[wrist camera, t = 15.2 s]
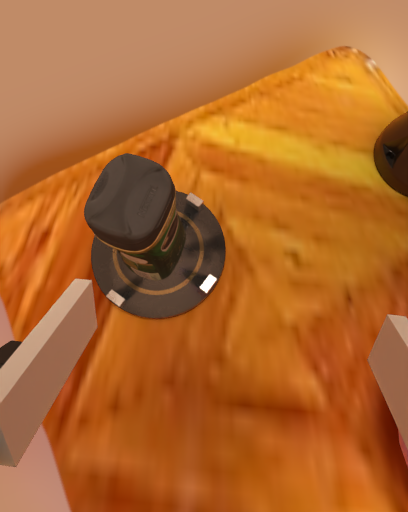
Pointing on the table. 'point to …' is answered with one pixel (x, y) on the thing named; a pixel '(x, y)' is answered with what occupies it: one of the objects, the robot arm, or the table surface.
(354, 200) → the table surface
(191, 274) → the lug base plate
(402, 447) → the ball
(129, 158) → the coffee jar
